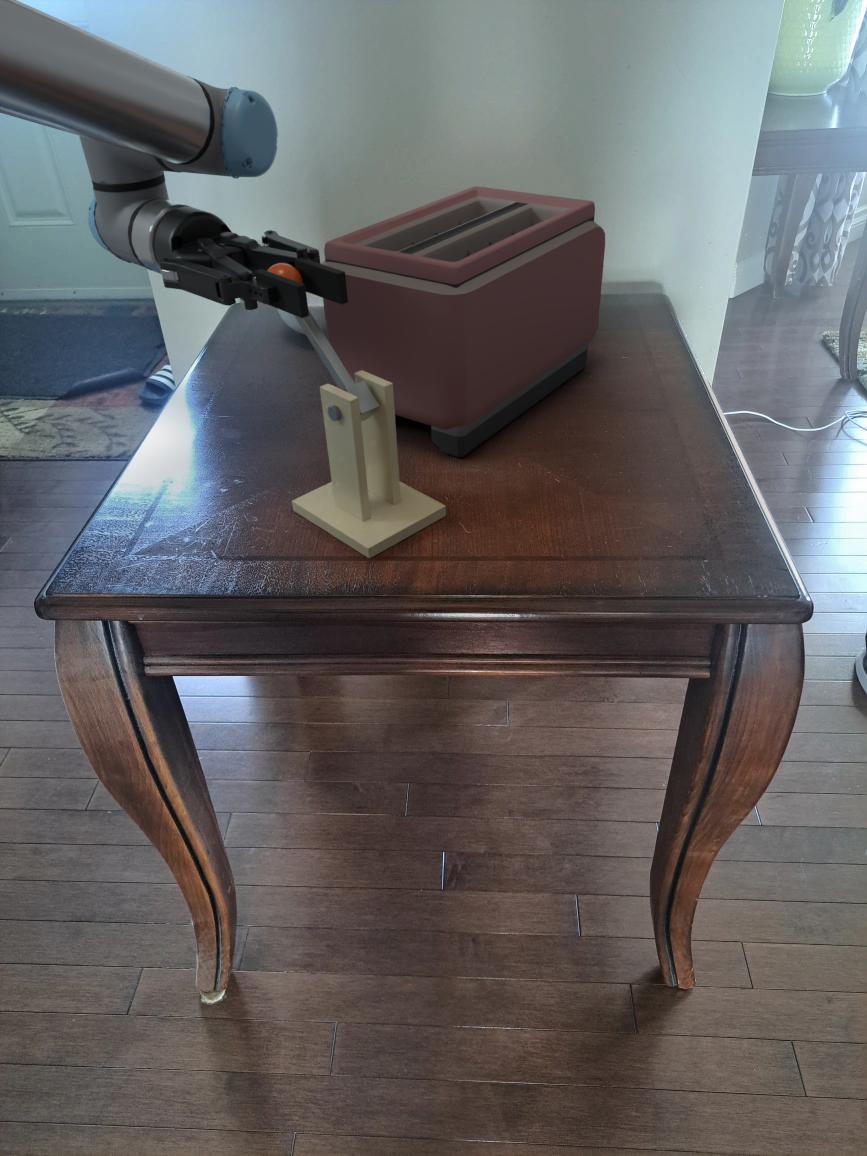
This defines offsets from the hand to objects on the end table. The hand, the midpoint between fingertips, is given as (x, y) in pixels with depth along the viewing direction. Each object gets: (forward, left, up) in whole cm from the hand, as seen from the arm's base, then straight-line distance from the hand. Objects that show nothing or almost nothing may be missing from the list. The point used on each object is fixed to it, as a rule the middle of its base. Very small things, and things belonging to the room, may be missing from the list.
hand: (323, 294), depth 72 cm
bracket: (+3, -1, -21) cm, 21 cm away
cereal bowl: (-29, +38, -21) cm, 52 cm away
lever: (-3, +1, -6) cm, 7 cm away
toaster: (-1, +30, -21) cm, 37 cm away
